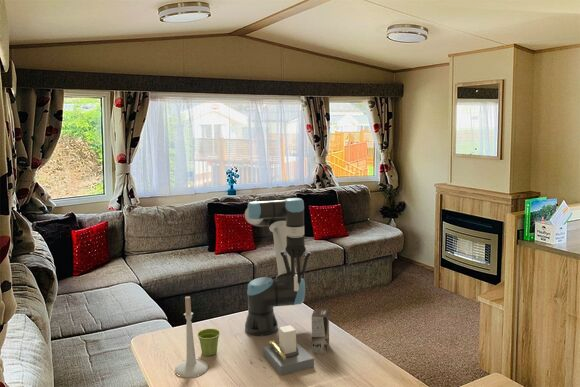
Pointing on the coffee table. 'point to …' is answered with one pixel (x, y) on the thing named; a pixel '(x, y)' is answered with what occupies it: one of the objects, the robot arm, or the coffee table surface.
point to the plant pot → (208, 341)
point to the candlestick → (190, 350)
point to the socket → (288, 360)
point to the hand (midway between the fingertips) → (296, 290)
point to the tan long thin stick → (277, 349)
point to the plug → (288, 341)
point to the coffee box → (320, 330)
